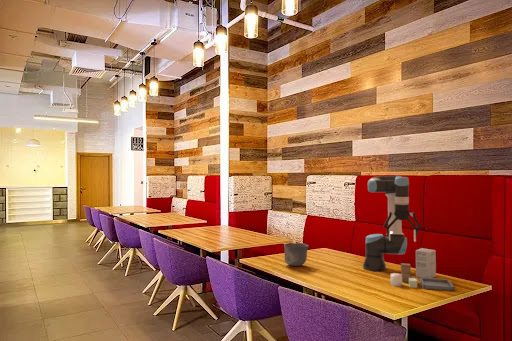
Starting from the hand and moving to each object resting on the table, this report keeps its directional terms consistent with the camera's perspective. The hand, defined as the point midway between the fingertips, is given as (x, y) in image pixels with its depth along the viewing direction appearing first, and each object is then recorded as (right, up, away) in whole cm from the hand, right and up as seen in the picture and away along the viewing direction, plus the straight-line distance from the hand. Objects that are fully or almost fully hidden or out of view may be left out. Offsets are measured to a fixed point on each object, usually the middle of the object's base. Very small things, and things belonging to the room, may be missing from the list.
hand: (402, 240), depth 215 cm
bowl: (-56, -28, +50) cm, 80 cm away
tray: (+20, -27, +1) cm, 33 cm away
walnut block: (+7, -27, +12) cm, 30 cm away
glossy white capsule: (-2, -27, +4) cm, 27 cm away
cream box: (+7, -27, +1) cm, 28 cm away
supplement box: (+23, -27, +21) cm, 41 cm away
